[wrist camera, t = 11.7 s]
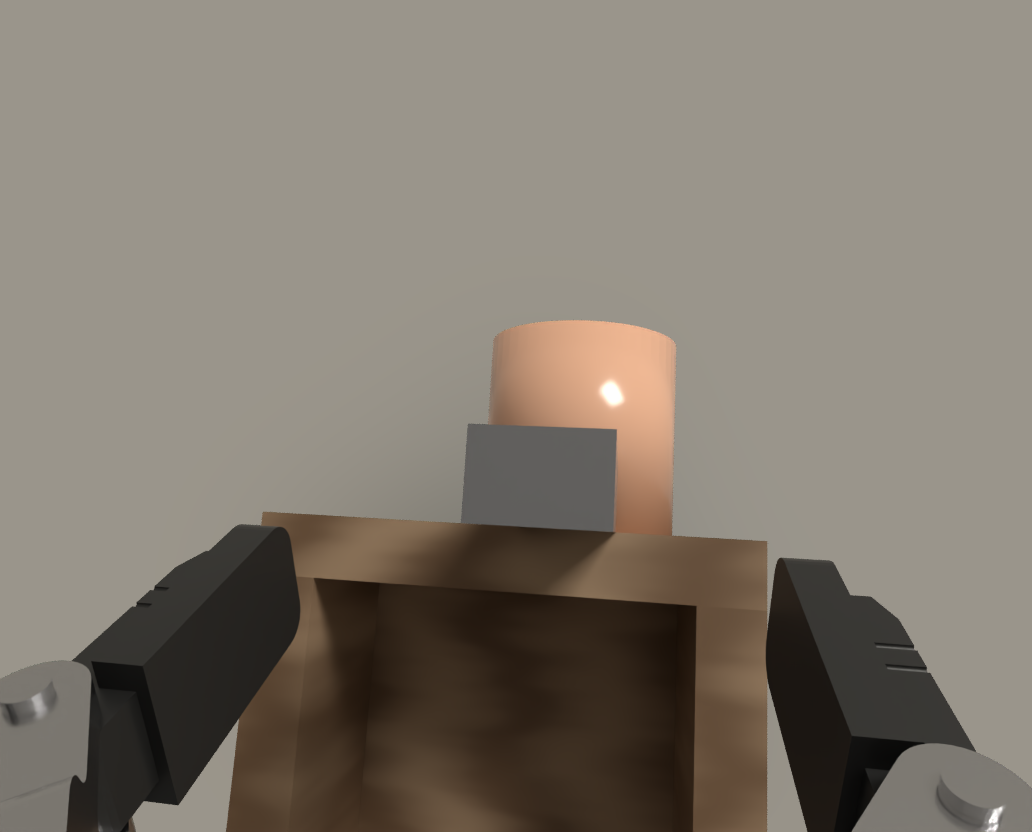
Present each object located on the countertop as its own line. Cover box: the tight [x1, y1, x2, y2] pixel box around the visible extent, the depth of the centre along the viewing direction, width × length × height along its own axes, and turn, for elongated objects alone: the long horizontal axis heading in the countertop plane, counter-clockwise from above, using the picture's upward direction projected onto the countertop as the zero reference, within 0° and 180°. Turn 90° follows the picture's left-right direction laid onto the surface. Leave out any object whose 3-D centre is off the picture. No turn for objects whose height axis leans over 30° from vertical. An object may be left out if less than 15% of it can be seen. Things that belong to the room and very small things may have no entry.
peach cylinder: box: [461, 320, 676, 536], centre depth 22 cm, size 7×16×7 cm, turn 172°
